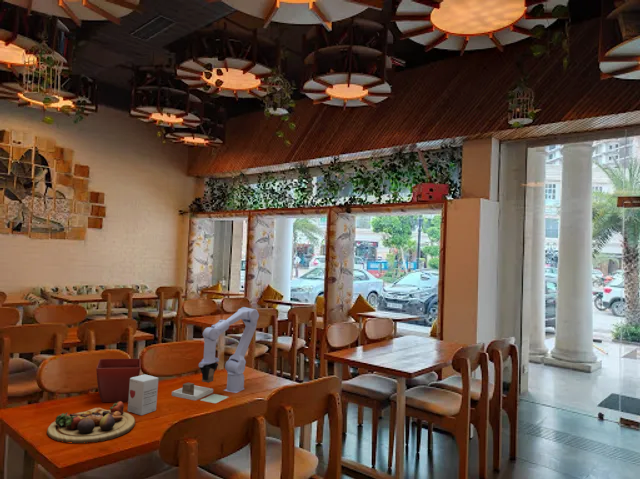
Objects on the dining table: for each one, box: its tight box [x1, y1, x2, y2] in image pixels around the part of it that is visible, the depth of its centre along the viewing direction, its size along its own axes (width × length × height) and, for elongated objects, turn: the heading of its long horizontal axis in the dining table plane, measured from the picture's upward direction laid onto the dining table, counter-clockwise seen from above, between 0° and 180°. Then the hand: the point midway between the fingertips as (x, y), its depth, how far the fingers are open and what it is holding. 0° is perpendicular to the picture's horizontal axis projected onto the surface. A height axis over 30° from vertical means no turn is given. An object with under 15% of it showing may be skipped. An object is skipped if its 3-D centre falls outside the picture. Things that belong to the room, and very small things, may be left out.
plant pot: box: [96, 358, 142, 403], centre depth 234 cm, size 19×19×17 cm
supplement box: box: [127, 374, 159, 416], centre depth 218 cm, size 9×9×15 cm
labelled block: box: [201, 368, 215, 384], centre depth 244 cm, size 4×4×6 cm
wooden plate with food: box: [46, 401, 136, 444], centre depth 196 cm, size 32×32×8 cm
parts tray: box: [171, 384, 214, 401], centre depth 245 cm, size 15×14×2 cm
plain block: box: [181, 382, 195, 395], centre depth 241 cm, size 4×4×6 cm
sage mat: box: [200, 393, 229, 404], centre depth 240 cm, size 12×9×1 cm
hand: (207, 378), depth 244 cm, fingers closed on labelled block, 4 cm apart
